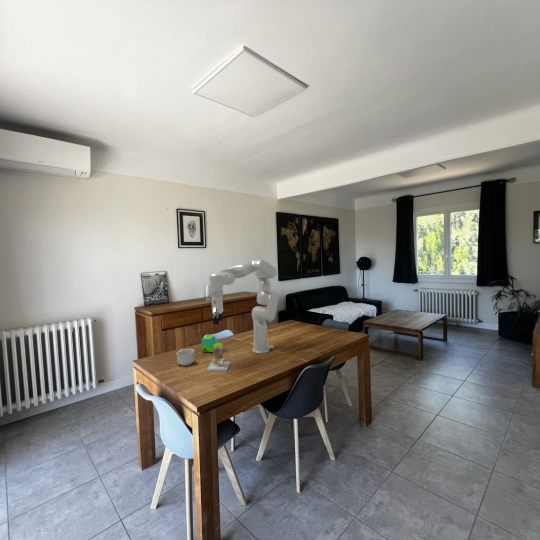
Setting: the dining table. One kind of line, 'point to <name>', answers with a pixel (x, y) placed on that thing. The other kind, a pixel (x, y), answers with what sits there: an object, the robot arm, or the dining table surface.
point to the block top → (218, 352)
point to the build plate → (218, 369)
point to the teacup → (185, 357)
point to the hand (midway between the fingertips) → (217, 322)
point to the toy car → (209, 344)
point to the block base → (218, 362)
